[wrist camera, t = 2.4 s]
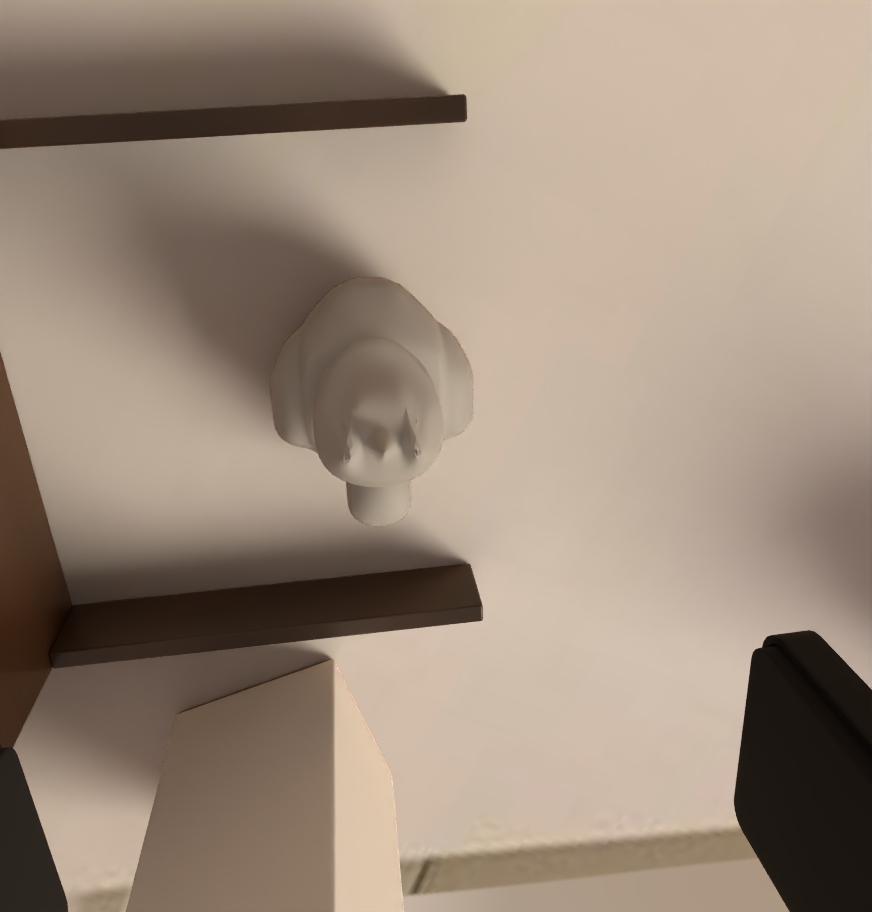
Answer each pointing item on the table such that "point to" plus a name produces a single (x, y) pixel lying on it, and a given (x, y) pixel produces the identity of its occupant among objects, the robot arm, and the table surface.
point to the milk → (272, 807)
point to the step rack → (204, 613)
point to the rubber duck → (372, 392)
